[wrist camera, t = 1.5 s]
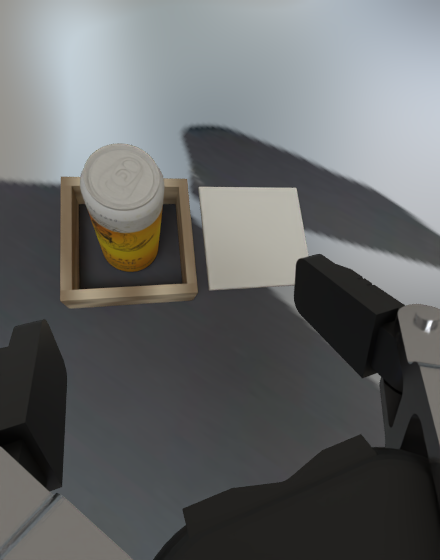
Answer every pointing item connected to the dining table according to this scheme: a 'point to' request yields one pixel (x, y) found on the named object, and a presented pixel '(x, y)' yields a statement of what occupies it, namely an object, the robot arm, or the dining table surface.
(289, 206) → the mat
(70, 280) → the crate
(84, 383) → the dining table surface
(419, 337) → the robot arm
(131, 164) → the beer can
